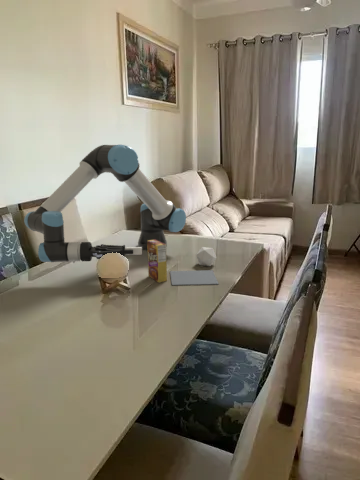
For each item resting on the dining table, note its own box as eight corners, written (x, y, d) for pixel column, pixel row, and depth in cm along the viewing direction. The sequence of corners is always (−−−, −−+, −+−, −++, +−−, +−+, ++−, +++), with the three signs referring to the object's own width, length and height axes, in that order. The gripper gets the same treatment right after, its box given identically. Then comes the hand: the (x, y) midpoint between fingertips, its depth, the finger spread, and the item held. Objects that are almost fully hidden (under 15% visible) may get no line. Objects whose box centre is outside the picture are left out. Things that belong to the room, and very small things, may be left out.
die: (218, 264, 175) (210, 245, 178) (219, 260, 167) (210, 241, 170) (202, 271, 175) (194, 252, 178) (201, 267, 167) (193, 247, 169)
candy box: (147, 276, 158) (146, 240, 154) (156, 274, 160) (156, 238, 156) (157, 283, 151) (157, 245, 147) (167, 281, 153) (167, 243, 149)
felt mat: (170, 271, 163) (170, 271, 163) (212, 271, 165) (212, 270, 164) (171, 285, 148) (171, 284, 148) (218, 284, 149) (218, 283, 149)
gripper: (84, 256, 157) (142, 255, 159) (78, 266, 145) (141, 265, 146) (83, 238, 155) (142, 237, 157) (76, 246, 143) (141, 245, 144)
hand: (141, 250), depth 151 cm, fingers closed
